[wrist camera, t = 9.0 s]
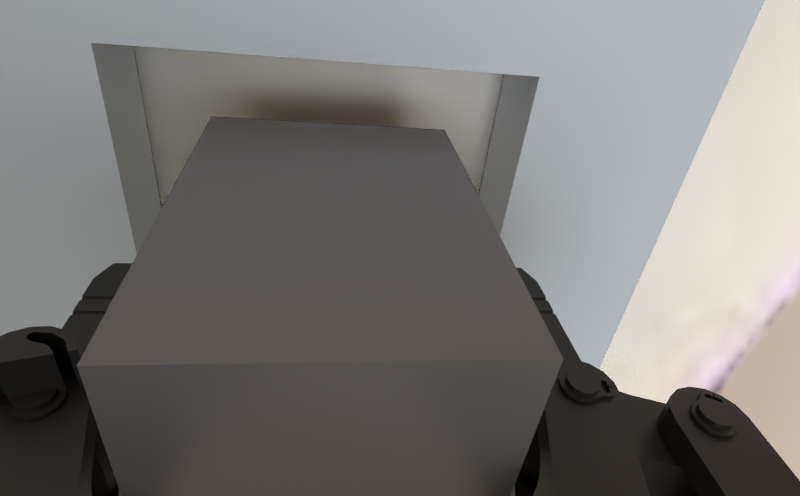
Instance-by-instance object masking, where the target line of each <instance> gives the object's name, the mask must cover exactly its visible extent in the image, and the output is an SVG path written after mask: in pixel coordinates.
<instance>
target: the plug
mask: <svg viewBox="0 0 800 496" xmlns="http://www.w3.org/2000/svg"><path fill="white" fill-rule="evenodd" d="M562 362H563V357H562V355H561V353H560V351H559V349H558V347H557V345H556V343H555V341H554V340H553V338H552V336H551V334H550V332H549V330H548V328H547V326H546V324H545V322H544V320H543V318H542V316H541V315H540V313H539V311H538V309H537V307H536V305H535V303H534V301H533V299H532V297H531V295H530V293H529V292H528V290H527V288H526V286H525V284H524V282H523V280H522V278H521V276H520V274H519V272H518V270H517V268H516V267H515V265H514V263H513V261H512V259H511V257H510V255H509V253H508V251H507V249H506V247H505V245H504V244H503V242H502V240H501V238H500V236H499V234H498V232H497V230H496V228H495V226H494V224H493V222H492V220H491V219H490V217H489V215H488V213H487V211H486V209H485V207H484V205H483V203H482V201H481V199H480V197H479V195H478V194H477V192H476V190H475V188H474V186H473V184H472V182H471V180H470V178H469V176H468V174H467V172H466V171H465V169H464V167H463V165H462V163H461V161H460V159H459V157H458V155H457V153H456V151H455V149H454V147H453V146H452V144H451V142H450V140H449V138H448V136H447V134H446V132H445V130H436V129H418V128H401V127H384V126H367V125H350V124H332V123H315V122H298V121H281V120H264V119H247V118H229V117H211V118H210V120H209V122H208V124H207V126H206V128H205V130H204V131H203V133H202V135H201V137H200V139H199V141H198V142H197V144H196V146H195V148H194V150H193V152H192V154H191V155H190V157H189V159H188V161H187V163H186V165H185V167H184V168H183V170H182V172H181V174H180V176H179V178H178V179H177V181H176V183H175V185H174V187H173V189H172V191H171V192H170V194H169V196H168V198H167V200H166V202H165V204H164V205H163V207H162V209H161V211H160V213H159V215H158V216H157V218H156V220H155V222H154V224H153V226H152V228H151V229H150V231H149V233H148V235H147V237H146V239H145V241H144V242H143V244H142V246H141V248H140V250H139V252H138V253H137V255H136V257H135V259H134V261H133V263H132V265H131V266H130V268H129V270H128V272H127V274H126V276H125V278H124V279H123V281H122V283H121V285H120V287H119V289H118V290H117V292H116V294H115V296H114V298H113V300H112V302H111V303H110V305H109V307H108V309H107V311H106V313H105V315H104V316H103V318H102V320H101V322H100V324H99V326H98V327H97V329H96V331H95V333H94V335H93V337H92V339H91V340H90V342H89V344H88V346H87V348H86V350H85V352H84V353H83V355H82V357H81V359H80V361H79V363H78V364H77V368H78V371H79V374H80V377H81V380H82V382H83V385H84V388H85V391H86V394H87V397H88V400H89V403H90V406H91V409H92V412H93V415H94V417H95V420H96V423H97V426H98V429H99V432H100V435H101V438H102V441H103V444H104V447H105V450H106V452H107V455H108V458H109V461H110V464H111V467H112V470H113V473H114V476H115V479H116V482H117V485H118V488H119V490H120V493H121V496H510V495H511V492H512V490H513V487H514V485H515V482H516V480H517V477H518V474H519V472H520V469H521V467H522V464H523V462H524V459H525V457H526V454H527V451H528V449H529V446H530V444H531V441H532V439H533V436H534V433H535V431H536V428H537V426H538V423H539V421H540V418H541V416H542V413H543V410H544V408H545V405H546V403H547V400H548V398H549V395H550V392H551V390H552V387H553V385H554V382H555V380H556V377H557V375H558V372H559V369H560V367H561V364H562Z"/></svg>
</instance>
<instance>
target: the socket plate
mask: <svg viewBox="0 0 800 496" xmlns="http://www.w3.org/2000/svg"><path fill="white" fill-rule="evenodd" d="M763 2H764V0H0V336H1V335H4V334H6V333H8V332H11V331H15V330H19V329H23V328H27V327H37V326H52V327H56V328H60V329H62V328H63V326H64V324H65V323H66V321H67V320H68V318H69V316H70V315H73V310H74V308H75V307H76V305H77V304H78V302H79V300H82V296H83V294H84V292H85V291H86V289H87V288H88V286H89V284H90V283H91V281H92V280H93V278H94V277H96V276H97V275H99V274H100V273H101V272H103V271H104V270H105V269H107V268H108V267H109V266H111V265H112V264H113V263H133V261H134V259H135V257H136V255H137V253H138V252H139V250H140V248H141V246H142V244H143V242H144V241H145V239H146V237H147V235H148V233H149V231H150V229H151V228H152V226H153V224H154V222H155V220H156V218H157V216H158V215H159V213H160V211H161V203H160V198H159V192H158V186H157V180H156V175H155V169H154V163H153V157H152V152H151V146H150V140H149V135H148V129H147V123H146V117H145V112H144V106H143V100H142V94H141V89H140V83H139V77H138V71H137V66H136V60H135V54H134V48H133V46H141V47H154V48H167V49H180V50H193V51H206V52H219V53H233V54H246V55H259V56H272V57H285V58H298V59H312V60H325V61H338V62H351V63H364V64H377V65H391V66H404V67H417V68H430V69H443V70H456V71H470V72H483V73H496V74H504V78H503V83H502V88H501V93H500V97H499V102H498V107H497V112H496V116H495V121H494V126H493V130H492V135H491V140H490V145H489V149H488V154H487V159H486V164H485V168H484V173H483V178H482V183H481V187H480V192H479V197H480V199H481V201H482V203H483V205H484V207H485V209H486V211H487V213H488V215H489V217H490V219H491V220H492V222H493V224H494V226H495V228H496V230H497V232H498V234H499V236H500V238H501V240H502V242H503V244H504V245H505V247H506V249H507V251H508V253H509V255H510V257H511V259H512V261H513V263H514V265H515V267H516V268H522V269H523V270H524V271H525V272H527V273H528V274H529V275H530V276H531V277H532V278H534V279H535V280H536V281H537V282H538V284H539V286H540V287H541V289H542V291H543V293H544V295H545V296H546V301H548V302H549V304H550V305H551V307H552V309H553V314H556V316H557V318H558V320H559V322H560V323H561V325H562V327H563V329H564V331H565V332H566V334H567V336H568V338H569V340H570V341H571V343H572V345H573V347H574V349H575V350H576V352H577V354H578V356H579V358H580V359H581V361H582V362H585V363H589V364H591V365H592V366H594V367H596V368H598V369H599V368H600V365H601V363H602V361H603V359H604V356H605V354H606V352H607V350H608V347H609V345H610V343H611V341H612V339H613V336H614V334H615V332H616V330H617V327H618V325H619V323H620V321H621V319H622V316H623V314H624V312H625V310H626V307H627V305H628V303H629V301H630V298H631V296H632V294H633V292H634V290H635V287H636V285H637V283H638V281H639V278H640V276H641V274H642V272H643V270H644V267H645V265H646V263H647V261H648V258H649V256H650V254H651V252H652V249H653V247H654V245H655V243H656V241H657V238H658V236H659V234H660V232H661V229H662V227H663V225H664V223H665V221H666V218H667V216H668V214H669V212H670V209H671V207H672V205H673V203H674V201H675V198H676V196H677V194H678V192H679V189H680V187H681V185H682V183H683V180H684V178H685V176H686V174H687V172H688V169H689V167H690V165H691V163H692V160H693V158H694V156H695V154H696V152H697V149H698V147H699V145H700V143H701V140H702V138H703V136H704V134H705V131H706V129H707V127H708V125H709V123H710V120H711V118H712V116H713V114H714V111H715V109H716V107H717V105H718V103H719V100H720V98H721V96H722V94H723V91H724V89H725V87H726V85H727V82H728V80H729V78H730V76H731V74H732V71H733V69H734V67H735V65H736V62H737V60H738V58H739V56H740V54H741V51H742V49H743V47H744V45H745V42H746V40H747V38H748V36H749V33H750V31H751V29H752V27H753V25H754V22H755V20H756V18H757V16H758V13H759V11H760V9H761V7H762V5H763Z"/></svg>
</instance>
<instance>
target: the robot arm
mask: <svg viewBox="0 0 800 496" xmlns="http://www.w3.org/2000/svg"><path fill="white" fill-rule="evenodd" d="M131 265H132V263H113V264H112V265H111V266H109V267H108V268H107V269H105V270H104V271H103V272H101V273H100V274H99V275H97V276H96V277H94V278H93V280H92V281H91V283H90V284H89V286H88V288H87V289H86V291H85V292H84V294H83V296H82V300H79V302H78V304H77V305H76V307H75V308H74V310H73V315H70V316H69V318H68V320H67V321H66V323H65V324H64V326H63V328H62V329H60V328H56V327H52V326H37V327H27V328H23V329H19V330H15V331H11V332H8V333H6V334H4V335H1V336H0V496H121V493H120V490H119V488H118V485H117V482H116V479H115V476H114V473H113V470H112V467H111V464H110V461H109V458H108V455H107V452H106V450H105V447H104V444H103V441H102V438H101V435H100V432H99V429H98V426H97V423H96V420H95V417H94V415H93V412H92V409H91V406H90V403H89V400H88V397H87V394H86V391H85V388H84V385H83V382H82V380H81V377H80V374H79V371H78V368H77V364H78V363H79V361H80V359H81V357H82V355H83V353H84V352H85V350H86V348H87V346H88V344H89V342H90V340H91V339H92V337H93V335H94V333H95V331H96V329H97V327H98V326H99V324H100V322H101V320H102V318H103V316H104V315H105V313H106V311H107V309H108V307H109V305H110V303H111V302H112V300H113V298H114V296H115V294H116V292H117V290H118V289H119V287H120V285H121V283H122V281H123V279H124V278H125V276H126V274H127V272H128V270H129V268H130V266H131ZM517 270H518V272H519V274H520V276H521V278H522V280H523V282H524V284H525V286H526V288H527V290H528V292H529V293H530V295H531V297H532V299H533V301H534V303H535V305H536V307H537V309H538V311H539V313H540V315H541V316H542V318H543V320H544V322H545V324H546V326H547V328H548V330H549V332H550V334H551V336H552V338H553V340H554V341H555V343H556V345H557V347H558V349H559V351H560V353H561V355H562V357H563V362H562V364H561V367H560V369H559V372H558V375H557V377H556V380H555V382H554V385H553V387H552V390H551V392H550V395H549V398H548V400H547V403H546V405H545V408H544V410H543V413H542V416H541V418H540V421H539V423H538V426H537V428H536V431H535V433H534V436H533V439H532V441H531V444H530V446H529V449H528V451H527V454H526V457H525V459H524V462H523V464H522V467H521V469H520V472H519V474H518V477H517V480H516V482H515V485H514V487H513V490H512V492H511V495H510V496H800V481H799V479H798V478H797V477H796V476H795V475H794V473H793V472H792V471H791V470H790V468H789V467H788V466H787V465H786V463H785V462H784V461H783V460H782V458H781V457H780V456H779V455H778V453H777V452H776V451H775V450H774V449H773V447H772V446H771V445H770V443H769V442H768V441H767V440H766V439H765V437H764V436H763V435H762V434H761V432H760V431H759V430H758V429H757V427H756V426H755V425H754V424H753V422H752V421H751V420H750V419H749V417H747V416H746V415H745V414H744V413H743V412H742V411H741V410H740V409H739V408H738V407H737V406H736V405H735V404H733V403H732V402H730V401H729V400H727V399H725V398H724V397H722V396H721V395H718V394H716V393H713V392H711V391H708V390H706V389H701V388H694V387H686V388H681V389H677V390H676V391H675V392H674V393H673V394H672V395H671V396H670V398H669V400H668V402H667V403H666V404H665V403H661V402H656V401H652V400H648V399H644V398H640V397H636V396H632V395H628V394H625V393H622V392H619V391H618V389H617V387H616V385H615V383H614V382H613V381H612V380H611V379H610V378H609V377H608V376H607V375H606V374H605V373H604V372H603V371H601V370H599V369H598V368H596V367H594V366H592V365H591V364H589V363H585V362H582V361H581V359H580V358H579V356H578V354H577V352H576V350H575V349H574V347H573V345H572V343H571V341H570V340H569V338H568V336H567V334H566V332H565V331H564V329H563V327H562V325H561V323H560V322H559V320H558V318H557V316H556V314H553V309H552V307H551V305H550V304H549V302H548V301H546V296H545V295H544V293H543V291H542V289H541V287H540V286H539V284H538V282H537V281H536V280H535V279H534V278H532V277H531V276H530V275H529V274H528V273H527V272H525V271H524V270H523V269H522V268H517Z"/></svg>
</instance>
